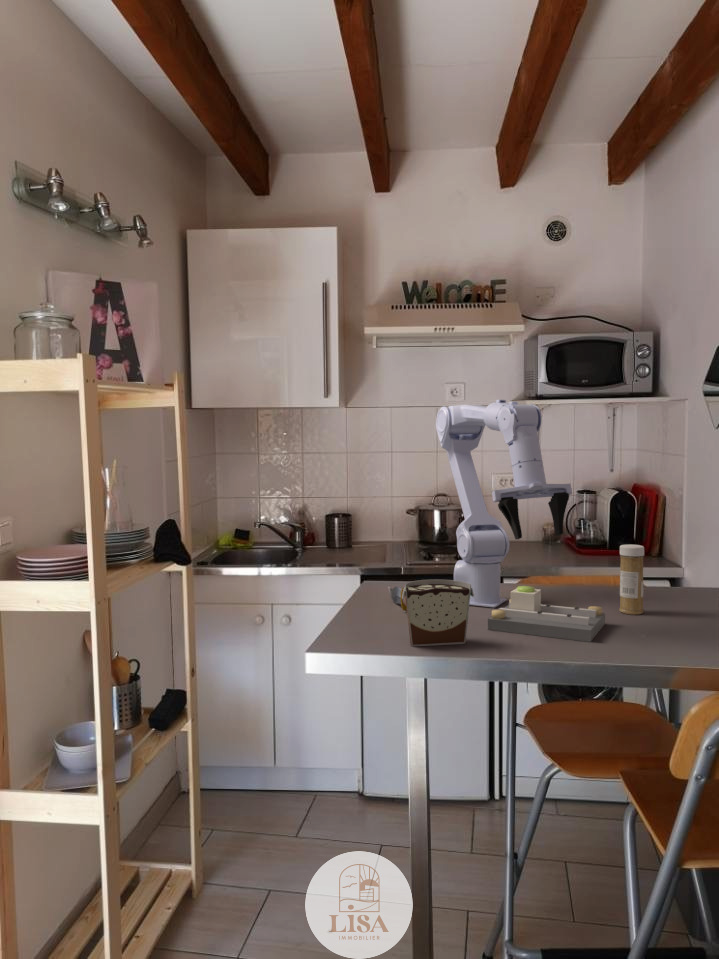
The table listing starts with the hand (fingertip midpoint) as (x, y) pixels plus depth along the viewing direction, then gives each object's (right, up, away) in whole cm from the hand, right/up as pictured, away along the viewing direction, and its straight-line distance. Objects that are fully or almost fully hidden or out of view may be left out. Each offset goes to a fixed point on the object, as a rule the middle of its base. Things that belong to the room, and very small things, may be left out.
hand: (539, 536), depth 130 cm
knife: (-24, -16, +15) cm, 33 cm away
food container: (-20, -17, -8) cm, 28 cm away
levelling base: (+2, -17, +1) cm, 17 cm away
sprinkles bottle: (+21, -16, +12) cm, 29 cm away
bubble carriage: (-2, -14, +3) cm, 15 cm away
